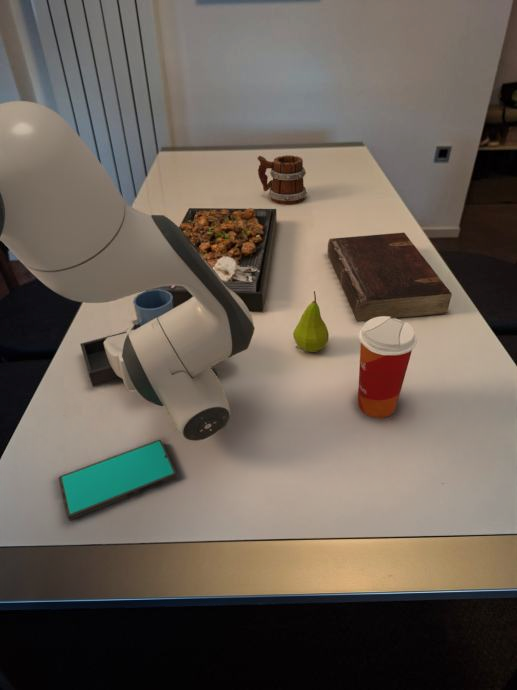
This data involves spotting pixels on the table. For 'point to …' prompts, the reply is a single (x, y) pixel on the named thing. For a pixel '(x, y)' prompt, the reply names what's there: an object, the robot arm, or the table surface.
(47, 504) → the table surface
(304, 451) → the table surface
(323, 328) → the fruit
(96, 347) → the tray
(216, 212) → the food platter
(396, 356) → the coffee cup
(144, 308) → the blue cup
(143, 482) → the smartphone
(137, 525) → the table surface
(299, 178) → the mug
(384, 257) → the hardback book
